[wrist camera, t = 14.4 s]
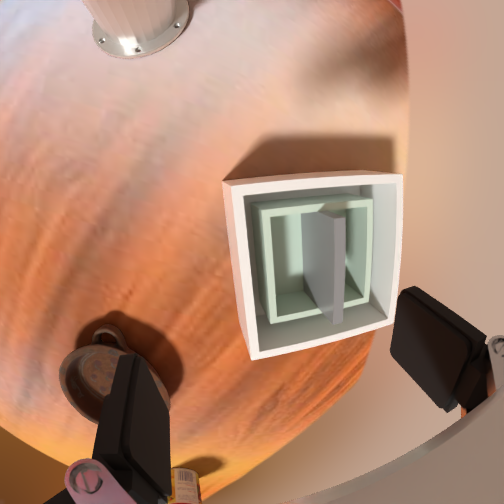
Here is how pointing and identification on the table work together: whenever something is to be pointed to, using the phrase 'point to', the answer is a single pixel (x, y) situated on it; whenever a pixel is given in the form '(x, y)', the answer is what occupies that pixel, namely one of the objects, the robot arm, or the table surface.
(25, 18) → the table surface
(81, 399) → the dish
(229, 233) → the big crate
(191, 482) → the canned food
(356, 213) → the small crate
